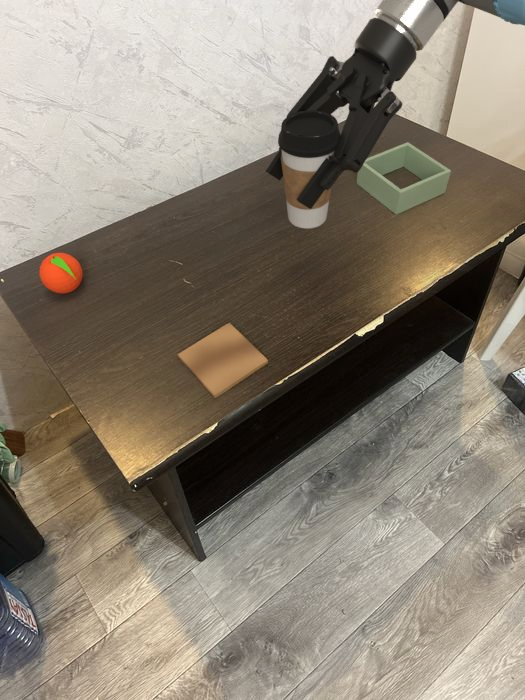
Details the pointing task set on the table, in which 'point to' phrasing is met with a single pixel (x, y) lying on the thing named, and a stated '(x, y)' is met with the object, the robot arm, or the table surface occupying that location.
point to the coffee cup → (306, 161)
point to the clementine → (61, 273)
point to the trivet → (222, 359)
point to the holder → (413, 161)
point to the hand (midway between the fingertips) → (287, 189)
